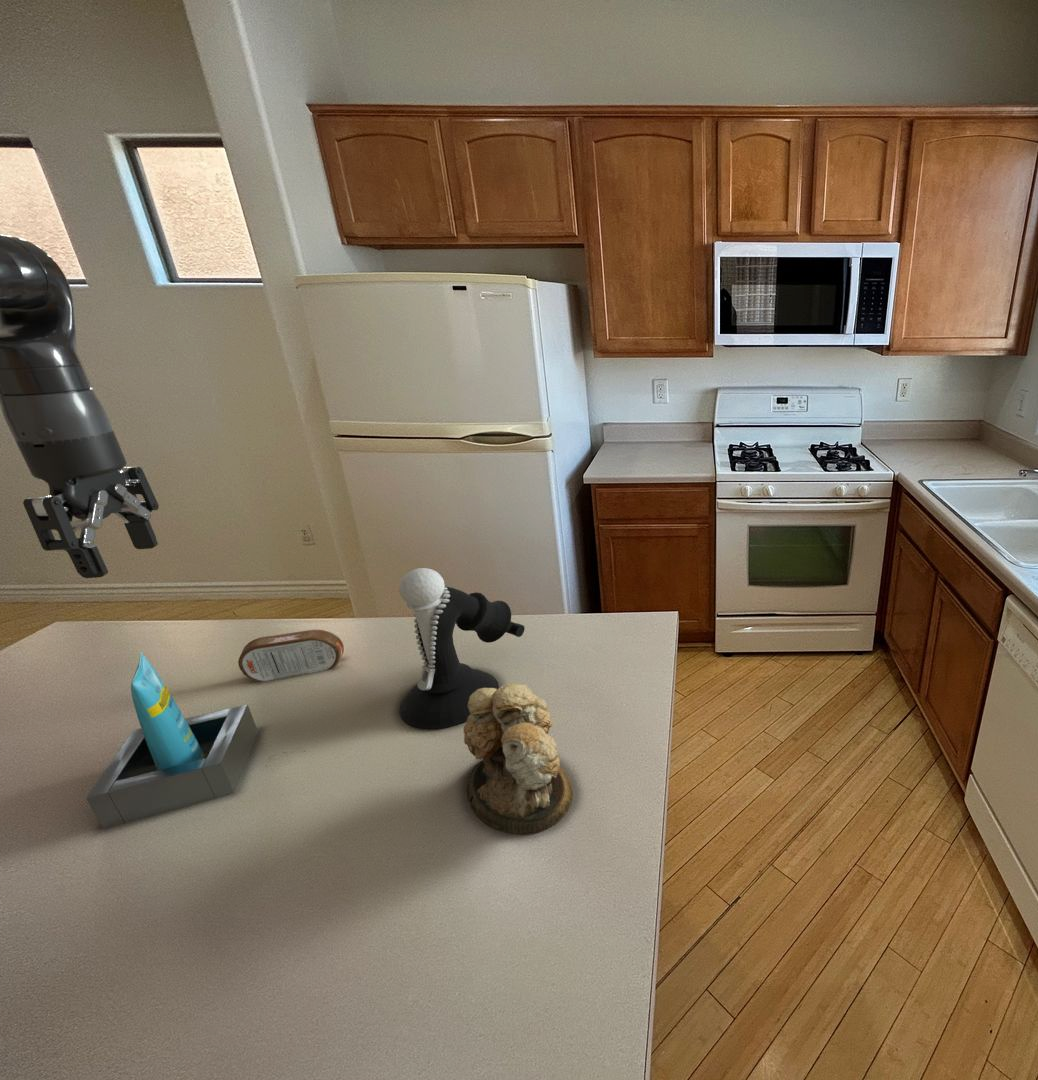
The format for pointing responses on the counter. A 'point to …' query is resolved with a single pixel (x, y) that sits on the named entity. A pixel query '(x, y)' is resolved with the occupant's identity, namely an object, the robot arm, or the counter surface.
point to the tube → (162, 720)
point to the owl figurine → (514, 761)
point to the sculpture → (448, 648)
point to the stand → (175, 770)
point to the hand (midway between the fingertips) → (122, 561)
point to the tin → (290, 654)
